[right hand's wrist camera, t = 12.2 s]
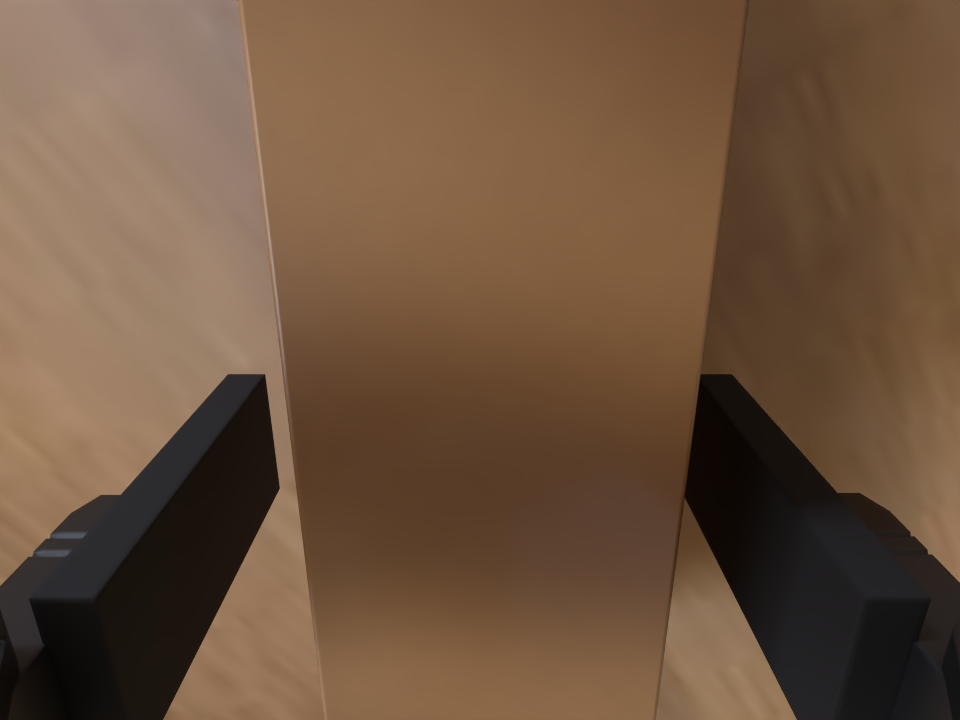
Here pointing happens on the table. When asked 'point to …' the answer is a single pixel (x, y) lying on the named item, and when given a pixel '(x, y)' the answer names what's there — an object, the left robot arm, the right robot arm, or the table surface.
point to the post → (491, 334)
